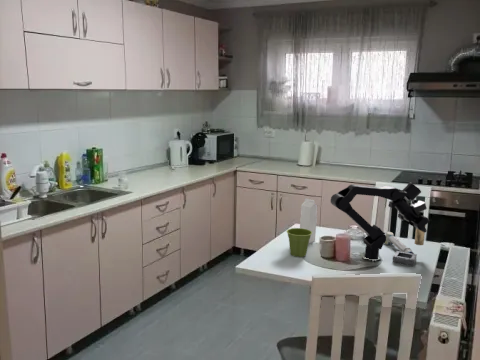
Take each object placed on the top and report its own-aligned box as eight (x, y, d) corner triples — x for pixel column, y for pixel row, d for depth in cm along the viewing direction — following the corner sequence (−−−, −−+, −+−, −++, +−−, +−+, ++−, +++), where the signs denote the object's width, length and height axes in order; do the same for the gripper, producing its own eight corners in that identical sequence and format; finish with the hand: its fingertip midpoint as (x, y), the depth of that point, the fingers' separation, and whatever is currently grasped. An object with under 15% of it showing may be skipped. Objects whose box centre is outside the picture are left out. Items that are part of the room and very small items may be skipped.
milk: (308, 243, 237) (311, 201, 233) (298, 241, 241) (301, 199, 236) (315, 241, 241) (318, 199, 237) (305, 238, 245) (308, 197, 241)
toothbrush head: (405, 251, 220) (382, 228, 243) (403, 264, 222) (380, 240, 245) (416, 251, 220) (392, 228, 244) (413, 263, 223) (390, 240, 246)
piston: (420, 245, 218) (423, 219, 216) (412, 243, 221) (415, 217, 219) (425, 244, 221) (428, 218, 219) (417, 241, 224) (419, 216, 222)
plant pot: (291, 248, 228) (293, 226, 226) (314, 253, 223) (316, 230, 220) (280, 255, 218) (282, 232, 216) (304, 261, 213) (306, 237, 210)
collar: (413, 266, 211) (413, 260, 210) (392, 262, 215) (393, 256, 214) (415, 260, 219) (416, 254, 218) (396, 256, 223) (396, 250, 222)
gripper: (428, 200, 207) (447, 224, 211) (406, 191, 225) (424, 213, 229) (409, 217, 207) (429, 241, 211) (389, 207, 225) (408, 229, 229)
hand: (423, 230), depth 220 cm, fingers closed on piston, 4 cm apart
